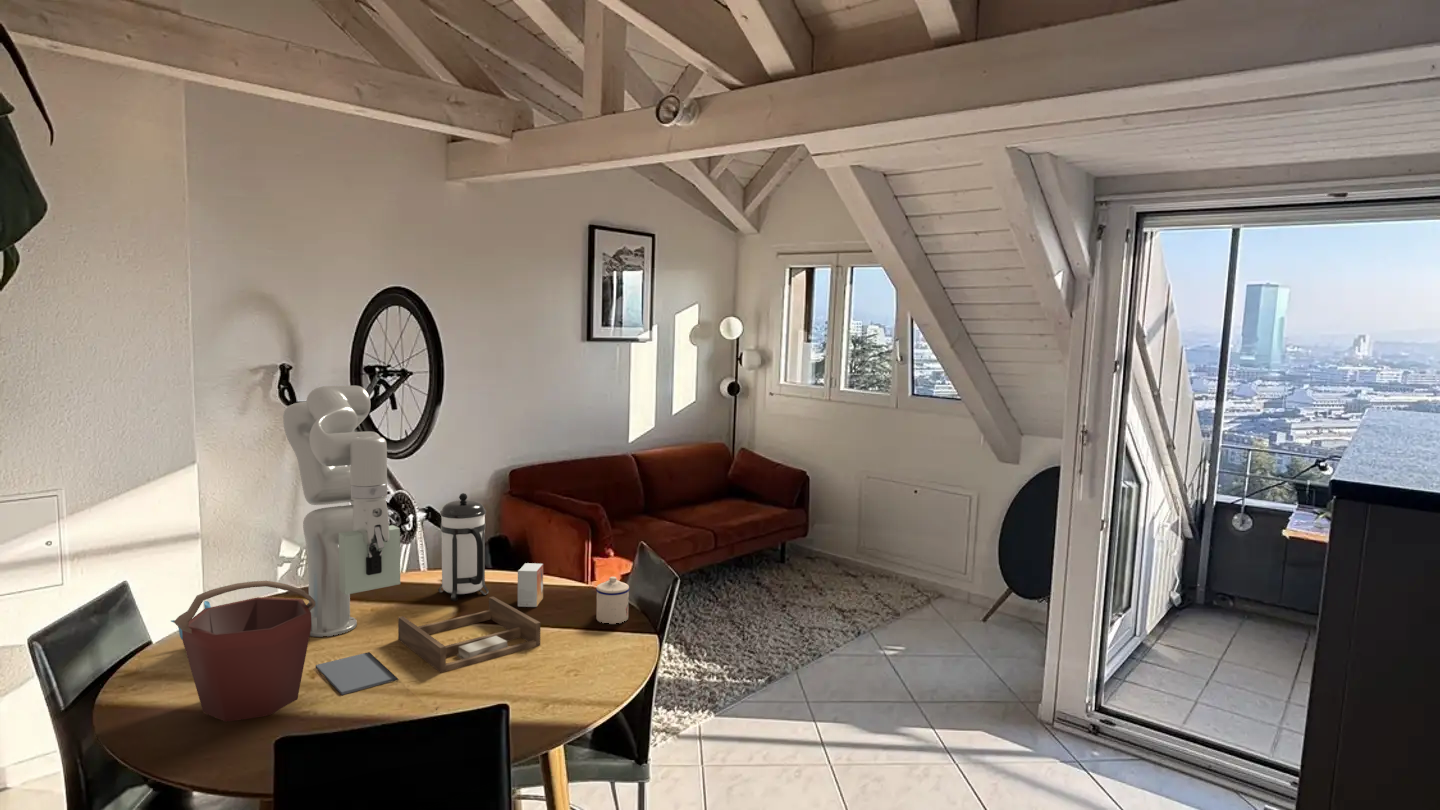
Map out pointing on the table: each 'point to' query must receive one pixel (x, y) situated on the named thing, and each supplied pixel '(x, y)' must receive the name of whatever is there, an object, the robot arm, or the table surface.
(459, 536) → the coffee press
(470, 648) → the offcut upper
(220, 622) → the bucket
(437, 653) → the rack
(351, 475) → the robot arm
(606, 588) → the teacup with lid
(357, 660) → the mat
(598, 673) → the table surface
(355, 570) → the pale green block
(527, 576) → the small box
